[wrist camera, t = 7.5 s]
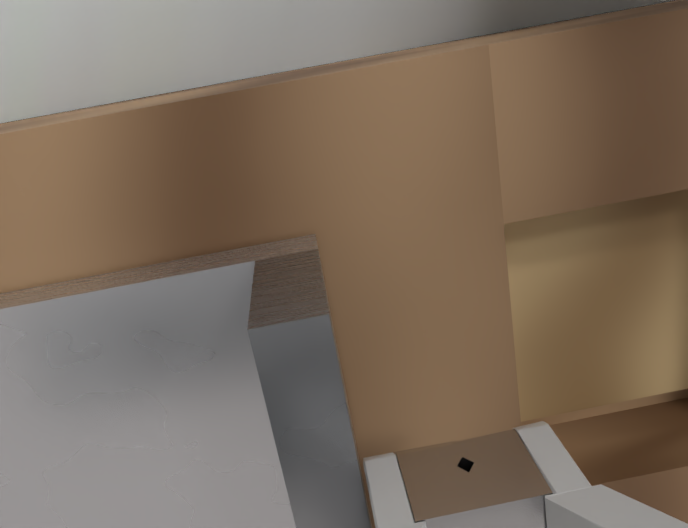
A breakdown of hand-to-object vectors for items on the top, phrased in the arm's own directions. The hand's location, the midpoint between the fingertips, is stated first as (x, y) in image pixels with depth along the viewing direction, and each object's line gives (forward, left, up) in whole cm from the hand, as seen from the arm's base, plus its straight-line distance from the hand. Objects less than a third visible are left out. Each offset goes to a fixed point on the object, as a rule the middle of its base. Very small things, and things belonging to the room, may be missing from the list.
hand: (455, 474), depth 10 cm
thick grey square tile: (+5, 0, -2) cm, 5 cm away
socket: (-2, 0, -5) cm, 5 cm away
